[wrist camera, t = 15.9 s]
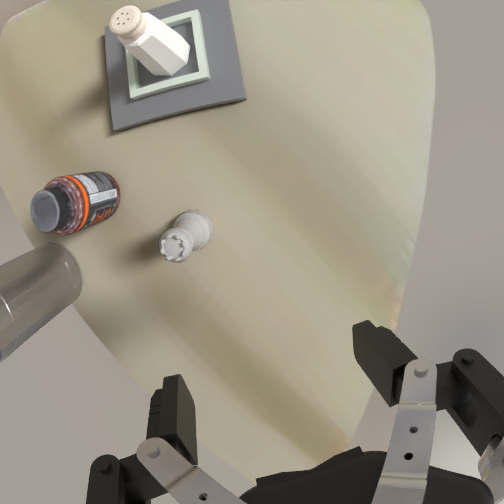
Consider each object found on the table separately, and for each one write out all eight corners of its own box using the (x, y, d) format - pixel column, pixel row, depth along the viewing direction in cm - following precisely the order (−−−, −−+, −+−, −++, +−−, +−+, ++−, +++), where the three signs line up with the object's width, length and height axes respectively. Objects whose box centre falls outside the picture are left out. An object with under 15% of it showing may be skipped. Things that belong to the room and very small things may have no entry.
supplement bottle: (98, 228, 36) (42, 255, 25) (75, 190, 35) (15, 205, 24) (131, 200, 35) (76, 220, 24) (106, 160, 33) (46, 166, 23)
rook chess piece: (168, 231, 35) (140, 252, 28) (190, 200, 34) (165, 213, 26) (199, 255, 36) (178, 281, 28) (222, 225, 35) (206, 244, 27)
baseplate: (119, 130, 32) (108, 129, 30) (110, 31, 28) (99, 24, 26) (246, 99, 30) (243, 94, 28) (227, -5, 27) (223, -15, 24)
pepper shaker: (141, 44, 28) (91, 10, 17) (186, 27, 27) (149, -18, 16) (149, 84, 29) (97, 59, 19) (196, 67, 28) (159, 31, 18)
